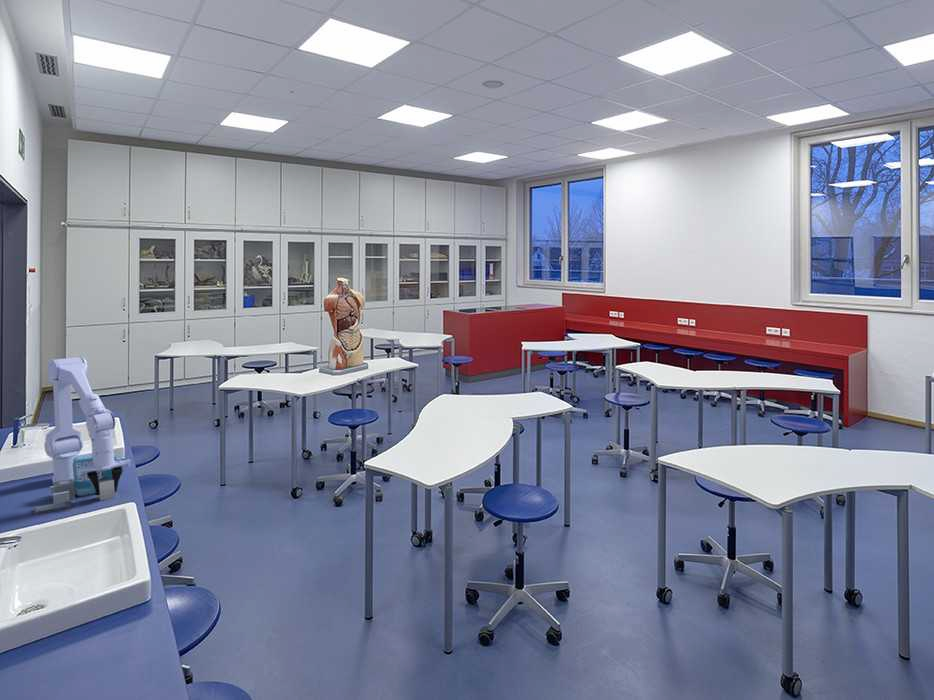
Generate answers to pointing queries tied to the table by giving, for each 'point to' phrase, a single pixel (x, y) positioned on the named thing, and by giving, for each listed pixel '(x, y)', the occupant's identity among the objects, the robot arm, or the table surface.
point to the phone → (52, 507)
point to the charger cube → (65, 487)
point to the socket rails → (59, 496)
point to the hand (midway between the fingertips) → (106, 492)
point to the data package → (83, 482)
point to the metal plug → (106, 488)
